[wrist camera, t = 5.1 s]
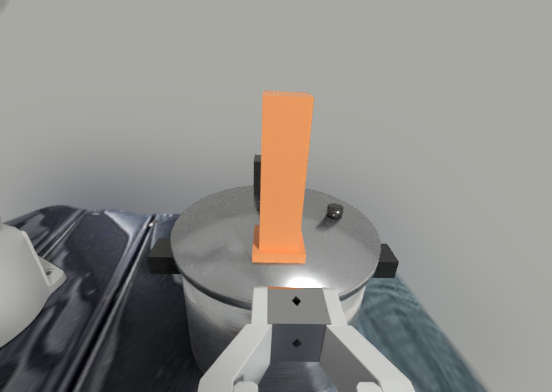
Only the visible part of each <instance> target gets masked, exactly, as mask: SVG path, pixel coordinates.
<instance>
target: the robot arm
mask: <svg viewBox="0 0 552 392" xmlns="http://www.w3.org/2000/svg"><path fill="white" fill-rule="evenodd" d="M8 3H9V0H0V16H1V15H2V13H3V12H4V11H5V9H6V7H7V5H8ZM66 279H67V276H66V274H65V273H64V271H63V270H61V269H60V268H58V267H56V266H55V265H53V264H51V263H50V262H48V261H46V260H45V259H43V258H41V257H40V256H38V255H37V254H36V252H35V250H34V247H33V245H32V243H31V241H30V239H29V237H28V235H27V233H26V232H25V231H20V230H19V229H17V228H16V227H13V226H9V225H6V224H3V223H1V222H0V347H2V346H3V345H5V344H6V343H7V342H9V341H10V340H12V339H13V338H14V337H15V336H17V335H18V334H19V333H20V332H21V331H23V330H24V329H25V328H26V327H27V326H28V325H29V324H30V323H31V322H32V321H33V320H34V319H35V317H36V316H37V315H38V314H39V312H40V311H41V310H42V308H43V306H44V304H45V303H46V301H47V299H48V298H49V296H50V295H51V294H52V293H53V292H54V291H55V290H56V289H57V288H58V287H60V286H61V285H62V284H63V283H64V282H65V280H66ZM285 361H299V362H319V364H320V365H321V367H322V368H323V370H324V371H325V373H326V374H327V376H328V377H329V378H330V380H331V381H332V383H333V384H334V386H335V387H336V388H337V390H338V391H339V392H415V390H414V388H413V386H412V384H411V381H410V380H408V379H407V378H406V377H405V376H404V375H403V374H402V373H401V372H400V371H399V370H398V369H397V368H396V367H395V366H394V365H393V364H392V363H391V362H389V361H388V360H387V359H386V358H385V357H384V356H383V355H382V354H381V353H380V352H379V351H378V350H377V349H376V348H375V347H374V346H373V345H372V344H370V343H369V342H368V341H367V340H366V339H365V338H364V337H363V336H362V335H361V334H360V333H359V332H358V331H357V330H356V329H355V328H354V327H353V326H351V325H347V323H346V320H345V317H344V313H343V310H342V307H341V303H340V300H339V297H338V294H337V290H336V289H335V288H325V287H321V288H317V287H273V286H268V288H267V287H265V286H254V287H253V296H252V310H251V324H246V325H245V326H244V327H243V329H242V330H241V331H240V332H239V333H238V335H237V336H236V337H235V338H234V339H233V341H232V342H231V343H230V344H229V345H228V347H227V348H226V349H225V350H224V351H223V353H222V354H221V355H220V356H219V358H218V359H217V360H216V361H215V362H214V364H213V365H212V366H211V367H210V368H209V370H208V371H207V372H206V373H205V374H204V376H203V377H202V378H201V379H200V383H199V387H198V392H258V384H259V382H260V380H261V379H262V377H263V375H264V373H265V371H266V370H267V368H268V366H269V364H270V362H285Z"/></svg>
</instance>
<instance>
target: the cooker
mask: <svg viewBox="0 0 552 392" xmlns="http://www.w3.org/2000/svg"><path fill="white" fill-rule="evenodd" d="M260 192H261V155H255V158H254V185H252V186H243V187H238V188H232V189H228V190H224V191H221V192H217V193H215V194H212V195H209V196H207V197H205V198H203V199H201V200H199V201H197V202H196V203H194V204H192V205H191V206H190V207H189V208H187V209H186V210H185V211H184V212H183V213H182V214H181V215H180V216H179V218H178V219H177V220H176V222H175V224H174V226H173V228H172V233H171V239H161V238H159V239H158V240H157V242H156V244H155V245H154V247H153V248H152V250H151V252H150V253H149V255H148V256H147V258H148V264H149V269H150V273H151V274H181V275H182V282H183V290H184V297H185V305H186V312H187V320H188V327H189V335H190V342H191V348H192V352H193V356H194V359H195V361H196V363H197V366H198V368H199V369H200V371H201V372H202V374H203V375H204V374H205V373H206V372H207V371H208V370H209V368H210V367H211V366H212V365H213V364H214V362H215V361H216V360H217V359H218V358H219V356H220V355H221V354H222V353H223V351H224V350H225V349H226V348H227V347H228V345H229V344H230V343H231V342H232V341H233V339H234V338H235V337H236V336H237V335H238V333H239V332H240V331H241V330H242V329H243V327H244V326H245V325H246V324H251V310H252V296H253V287H254V286H265V287H267V288H268V286H273V287H317V288H321V287H325V288H335V289H336V290H337V294H338V297H339V300H340V303H341V307H342V310H343V313H344V317H345V320H346V323H347V325H351V326H353V327H354V328H355V327H356V323H357V319H358V315H359V311H360V306H361V302H362V298H363V294H364V290H365V286H366V284H367V283H368V282H369V281H370V279H371V278H394V277H395V273H396V270H397V267H398V263H399V262H398V260H397V259H396V257H395V256H394V254H393V252H392V251H391V249H390V248H389V246H388V245H387V244H381V243H380V239H379V235H378V233H377V231H376V229H375V227H374V226H373V225H372V223H371V222H370V221H369V220H368V219H367V218H366V217H365V216H364V215H363V214H362V213H361V212H360V211H358V210H357V209H355V208H354V207H353V206H351V205H349V204H348V203H346V202H344V201H342V200H340V199H337V198H335V197H333V196H330V195H327V194H325V193H321V192H318V191H314V190H310V189H306V188H305V193H304V203H303V213H302V223H301V231H302V236H303V242H304V247H305V252H306V260H305V263H259V262H252V250H253V238H254V227H255V225H260ZM331 384H332V381H331V380H330V378H329V377H328V376H327V374H326V373H325V371H324V370H323V368H322V367H321V365H320V364H319V362H299V361H285V362H270V364H269V366H268V368H267V370H266V371H265V373H264V375H263V377H262V379H261V380H260V382H259V384H258V392H323V391H324V390H326V389H327V388H328V387H329V386H330V385H331Z"/></svg>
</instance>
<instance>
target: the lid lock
mask: <svg viewBox="0 0 552 392" xmlns="http://www.w3.org/2000/svg"><path fill="white" fill-rule="evenodd" d="M313 103H314V97H313V96H311V95H310V94H309V93H303V92H283V91H263V106H262V150H261V152H262V153H261V192H260V225H255V227H254V238H253V250H252V262H259V263H305V260H306V252H305V247H304V242H303V236H302V231H301V223H302V213H303V203H304V193H305V183H306V173H307V163H308V153H309V143H310V133H311V123H312V113H313Z"/></svg>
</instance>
